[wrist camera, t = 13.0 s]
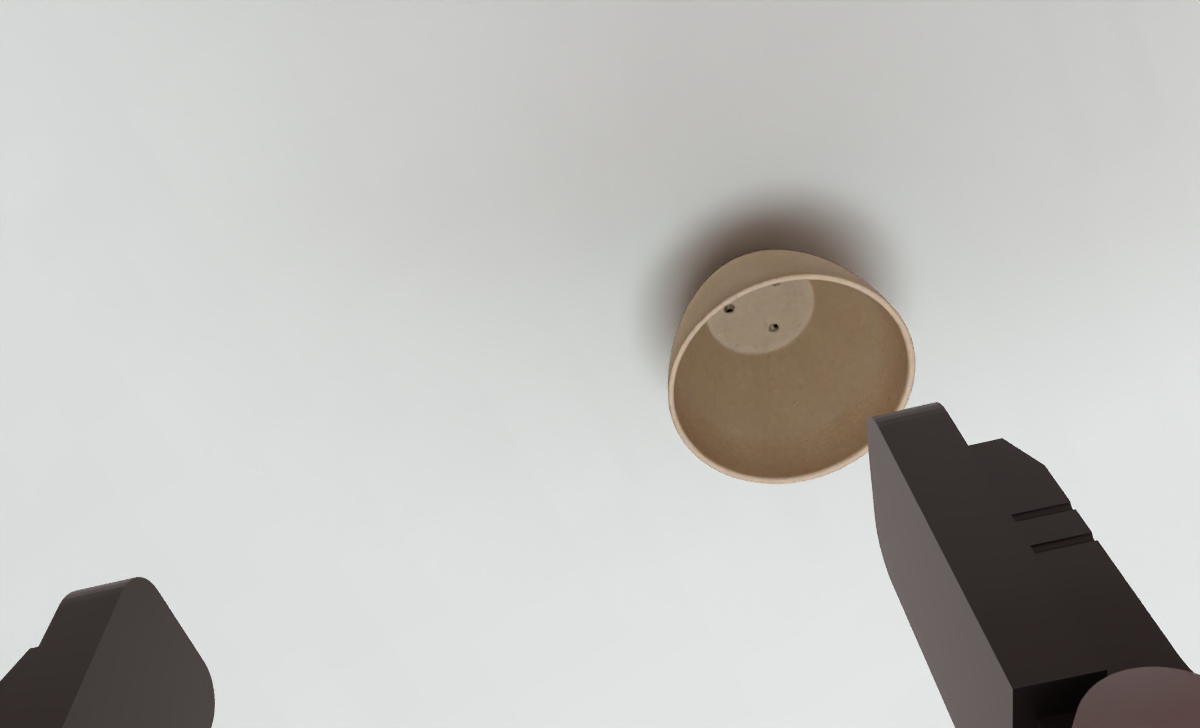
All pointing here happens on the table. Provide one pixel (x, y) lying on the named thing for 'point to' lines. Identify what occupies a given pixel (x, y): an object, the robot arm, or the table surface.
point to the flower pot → (785, 367)
